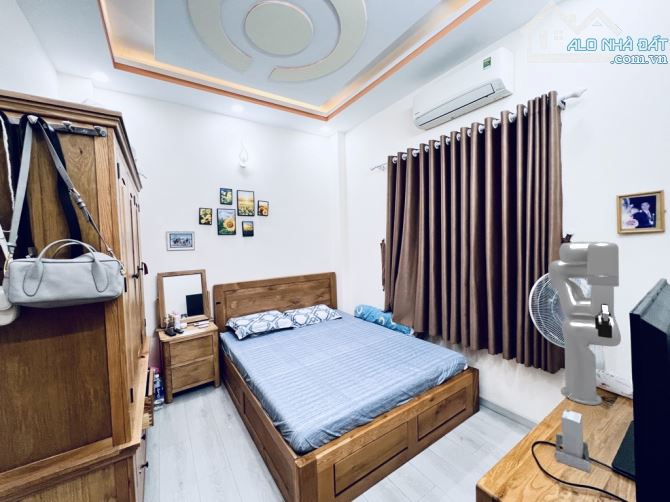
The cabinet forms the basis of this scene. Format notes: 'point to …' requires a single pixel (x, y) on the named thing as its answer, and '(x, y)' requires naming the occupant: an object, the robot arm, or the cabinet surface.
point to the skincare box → (572, 434)
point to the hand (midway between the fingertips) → (603, 333)
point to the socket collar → (571, 459)
